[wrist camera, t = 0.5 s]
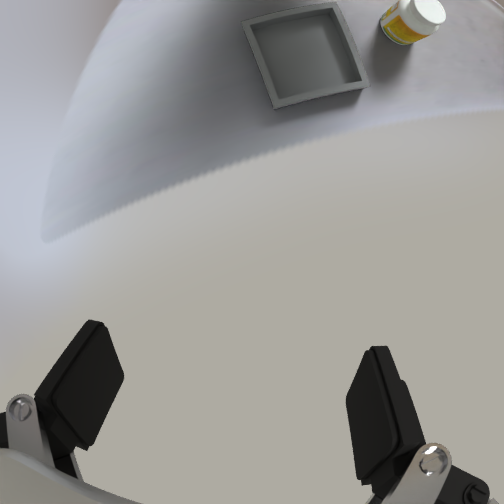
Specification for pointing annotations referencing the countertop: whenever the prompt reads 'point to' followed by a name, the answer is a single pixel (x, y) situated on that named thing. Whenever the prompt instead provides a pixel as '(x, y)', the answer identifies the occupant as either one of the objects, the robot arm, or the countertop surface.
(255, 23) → the tray
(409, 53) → the countertop surface
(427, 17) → the supplement bottle
